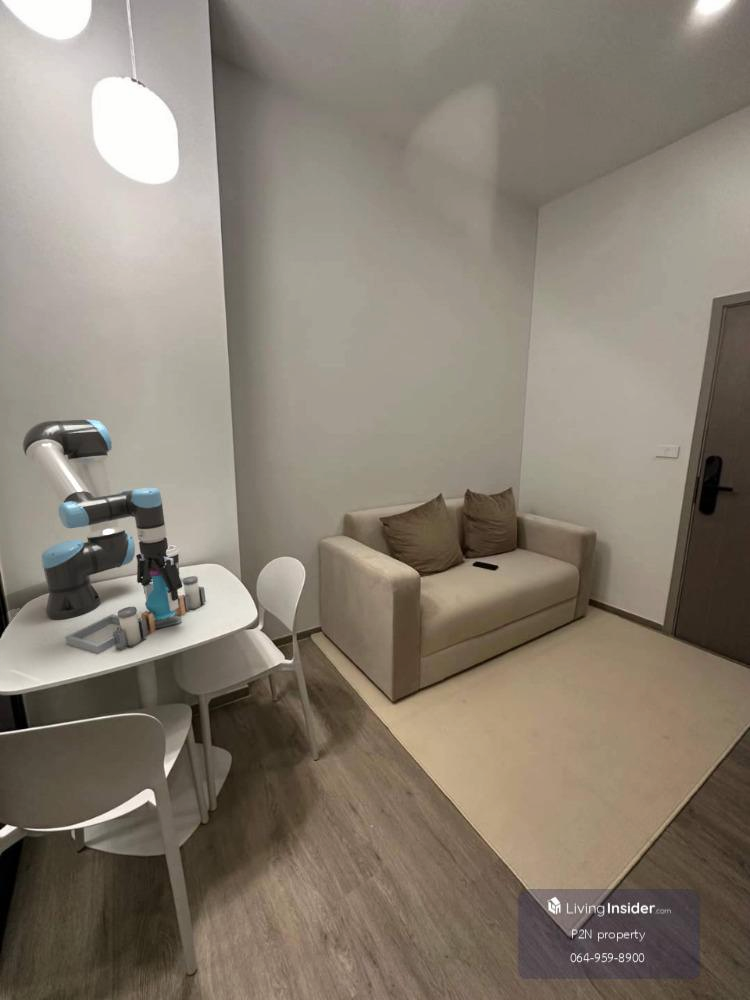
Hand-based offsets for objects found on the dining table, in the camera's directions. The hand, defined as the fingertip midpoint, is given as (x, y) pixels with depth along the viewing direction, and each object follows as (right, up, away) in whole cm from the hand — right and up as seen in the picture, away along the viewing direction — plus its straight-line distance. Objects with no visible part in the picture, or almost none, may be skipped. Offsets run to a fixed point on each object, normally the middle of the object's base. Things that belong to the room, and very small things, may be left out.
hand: (162, 606), depth 126 cm
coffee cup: (-13, 0, +31) cm, 34 cm away
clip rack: (0, -6, +1) cm, 6 cm away
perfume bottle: (0, -3, +1) cm, 3 cm away
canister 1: (-4, -8, -9) cm, 13 cm away
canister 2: (+5, -3, +11) cm, 13 cm away
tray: (-14, -8, -6) cm, 17 cm away
